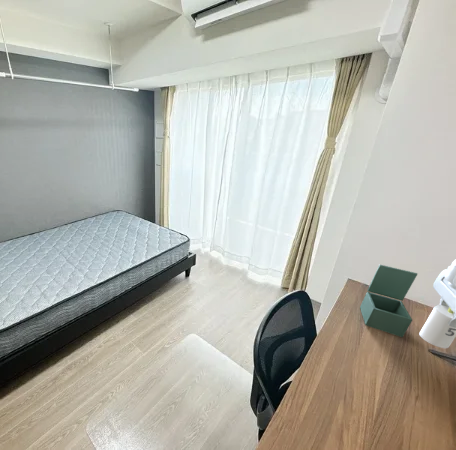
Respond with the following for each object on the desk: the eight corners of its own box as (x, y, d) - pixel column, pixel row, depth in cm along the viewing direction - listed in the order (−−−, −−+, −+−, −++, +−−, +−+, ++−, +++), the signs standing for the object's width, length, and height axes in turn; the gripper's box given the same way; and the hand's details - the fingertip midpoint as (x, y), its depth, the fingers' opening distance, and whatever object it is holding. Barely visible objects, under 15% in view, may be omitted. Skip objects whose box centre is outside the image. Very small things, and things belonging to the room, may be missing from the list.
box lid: (417, 274, 95) (413, 268, 99) (380, 265, 100) (377, 260, 104) (402, 300, 101) (399, 294, 104) (367, 291, 106) (365, 285, 110)
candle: (427, 344, 72) (452, 304, 66) (414, 329, 78) (436, 290, 72) (455, 351, 70) (483, 310, 64) (440, 335, 76) (464, 296, 70)
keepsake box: (402, 337, 94) (412, 320, 91) (365, 325, 100) (373, 308, 96) (393, 317, 105) (401, 301, 101) (359, 307, 110) (367, 291, 106)
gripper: (438, 259, 76) (418, 296, 81) (475, 295, 59) (448, 338, 64) (467, 265, 73) (445, 302, 78) (515, 304, 56) (483, 348, 61)
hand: (446, 319), depth 71 cm, fingers closed on candle, 4 cm apart
